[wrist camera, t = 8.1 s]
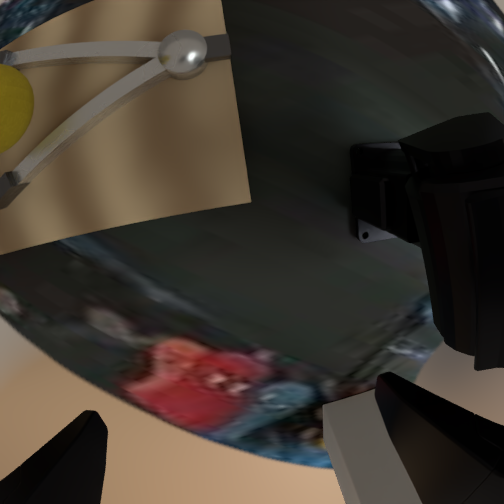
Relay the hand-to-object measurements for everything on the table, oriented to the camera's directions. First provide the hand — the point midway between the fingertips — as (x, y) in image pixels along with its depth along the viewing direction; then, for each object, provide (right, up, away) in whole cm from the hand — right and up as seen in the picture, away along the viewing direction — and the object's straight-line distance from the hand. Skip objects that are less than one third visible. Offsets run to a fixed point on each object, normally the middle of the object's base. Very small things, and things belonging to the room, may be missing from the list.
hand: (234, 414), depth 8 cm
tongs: (-9, +15, +6) cm, 18 cm away
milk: (+10, -11, +17) cm, 23 cm away
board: (-11, +14, +7) cm, 19 cm away
